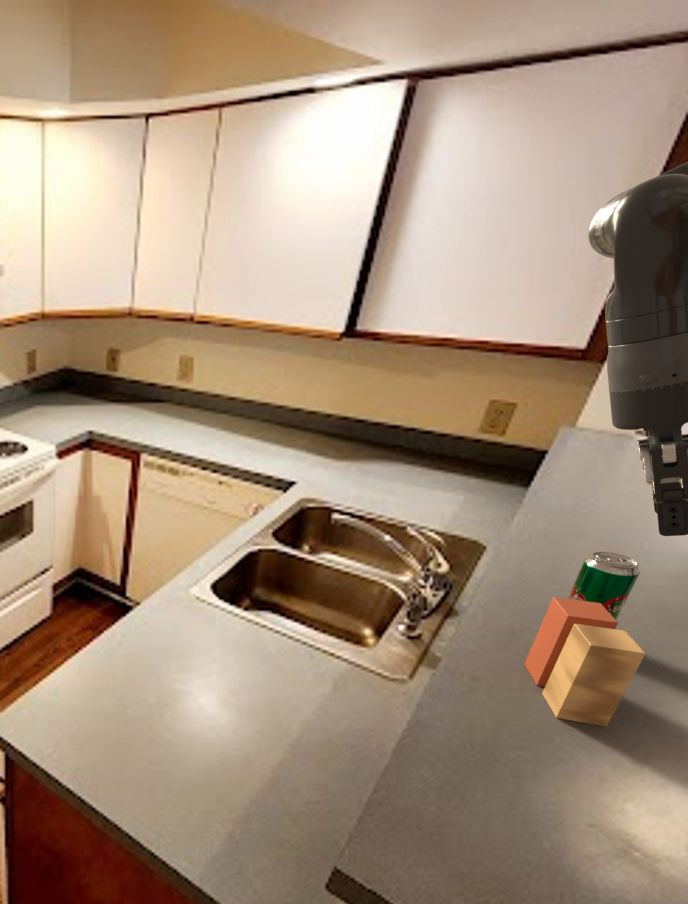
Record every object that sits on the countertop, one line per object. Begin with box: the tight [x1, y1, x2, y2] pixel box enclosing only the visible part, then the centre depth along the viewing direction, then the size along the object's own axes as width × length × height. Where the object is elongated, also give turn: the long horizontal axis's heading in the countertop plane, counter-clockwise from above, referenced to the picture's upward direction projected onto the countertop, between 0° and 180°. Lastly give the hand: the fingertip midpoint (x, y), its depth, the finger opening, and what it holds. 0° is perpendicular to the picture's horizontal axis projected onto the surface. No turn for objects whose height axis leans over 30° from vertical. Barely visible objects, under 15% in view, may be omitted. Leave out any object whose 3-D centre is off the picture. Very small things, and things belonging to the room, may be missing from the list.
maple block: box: [541, 624, 646, 728], centre depth 69 cm, size 4×4×10 cm
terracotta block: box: [524, 596, 619, 688], centre depth 74 cm, size 4×4×10 cm
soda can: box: [566, 551, 641, 622], centre depth 80 cm, size 5×5×12 cm
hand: (671, 523), depth 68 cm, fingers open, 8 cm apart
